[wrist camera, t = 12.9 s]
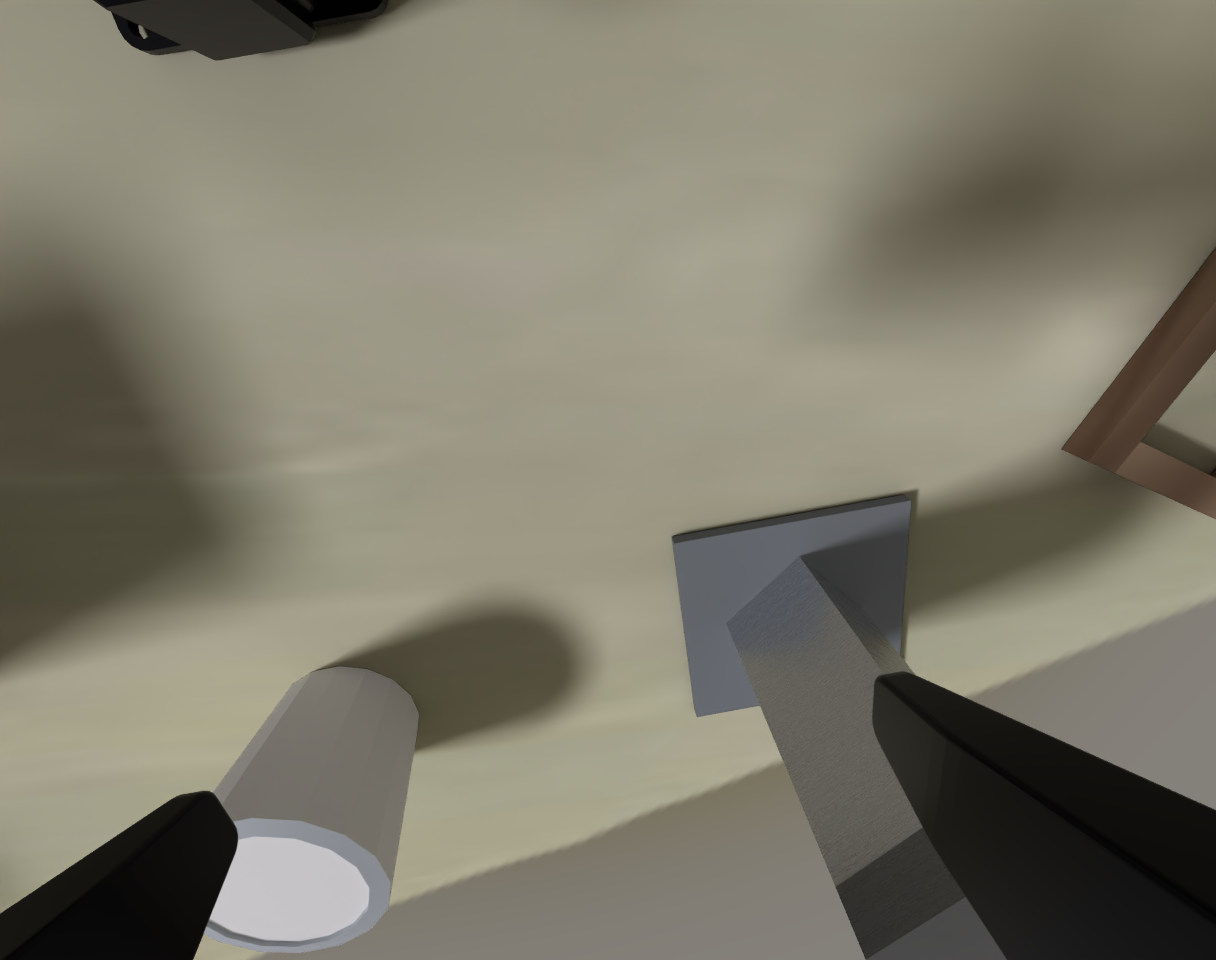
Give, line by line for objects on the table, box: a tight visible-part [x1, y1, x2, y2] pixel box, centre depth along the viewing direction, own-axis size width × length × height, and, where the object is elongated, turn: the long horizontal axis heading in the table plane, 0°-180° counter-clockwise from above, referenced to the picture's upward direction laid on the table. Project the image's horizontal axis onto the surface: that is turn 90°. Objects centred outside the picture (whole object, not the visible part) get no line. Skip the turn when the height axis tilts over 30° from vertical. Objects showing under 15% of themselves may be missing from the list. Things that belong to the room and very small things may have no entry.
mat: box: [672, 495, 911, 717], centre depth 23 cm, size 9×9×1 cm
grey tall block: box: [726, 556, 1007, 960], centre depth 18 cm, size 4×4×12 cm
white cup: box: [204, 666, 419, 953], centre depth 21 cm, size 7×7×7 cm
